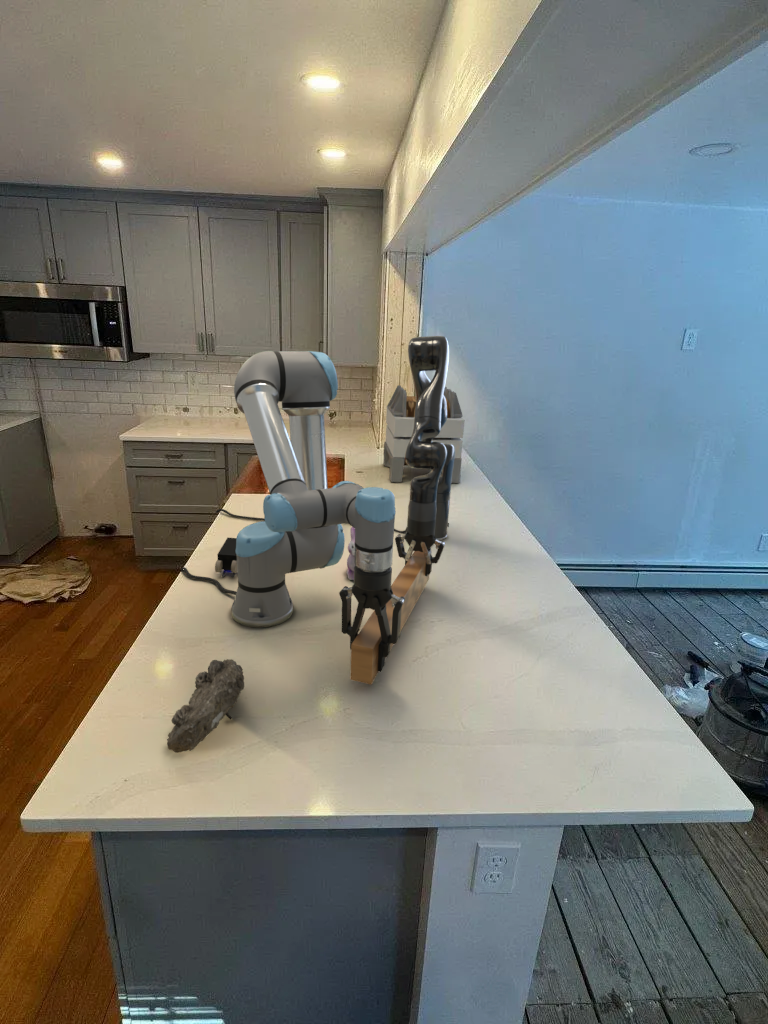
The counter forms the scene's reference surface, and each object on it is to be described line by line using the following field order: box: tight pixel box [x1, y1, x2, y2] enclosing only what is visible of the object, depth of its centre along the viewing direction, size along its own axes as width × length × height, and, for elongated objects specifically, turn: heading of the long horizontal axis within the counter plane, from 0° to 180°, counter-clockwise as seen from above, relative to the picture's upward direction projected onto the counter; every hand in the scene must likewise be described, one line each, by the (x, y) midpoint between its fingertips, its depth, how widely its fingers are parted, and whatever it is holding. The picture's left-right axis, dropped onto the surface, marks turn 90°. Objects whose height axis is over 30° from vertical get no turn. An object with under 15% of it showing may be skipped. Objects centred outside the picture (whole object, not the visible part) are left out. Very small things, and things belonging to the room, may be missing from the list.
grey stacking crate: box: [383, 384, 465, 484], centre depth 268 cm, size 34×33×41 cm
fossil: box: [166, 658, 245, 754], centre depth 106 cm, size 22×10×15 cm
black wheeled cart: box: [214, 537, 237, 578], centre depth 166 cm, size 7×8×15 cm
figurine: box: [346, 526, 355, 581], centre depth 165 cm, size 9×10×15 cm
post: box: [349, 551, 431, 686], centre depth 138 cm, size 52×5×8 cm, turn 163°
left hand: (369, 665), depth 120 cm, fingers closed on post, 5 cm apart
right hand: (417, 573), depth 156 cm, fingers closed on post, 4 cm apart
